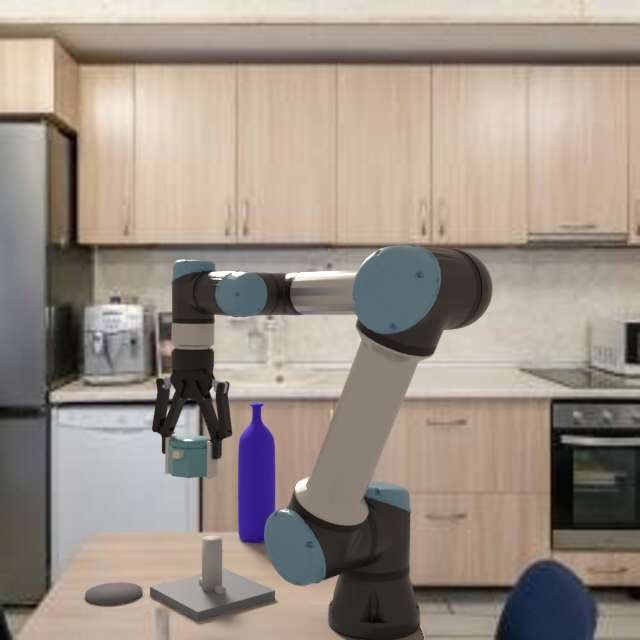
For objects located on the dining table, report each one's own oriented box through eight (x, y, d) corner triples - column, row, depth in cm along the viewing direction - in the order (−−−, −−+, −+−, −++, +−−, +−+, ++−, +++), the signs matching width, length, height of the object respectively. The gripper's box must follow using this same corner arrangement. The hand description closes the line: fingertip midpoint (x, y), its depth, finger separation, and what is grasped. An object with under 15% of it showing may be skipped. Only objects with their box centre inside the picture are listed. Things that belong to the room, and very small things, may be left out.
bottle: (269, 544, 183) (270, 406, 182) (233, 541, 185) (233, 405, 184) (279, 533, 191) (279, 401, 190) (244, 531, 193) (244, 400, 192)
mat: (152, 596, 151) (152, 593, 151) (100, 609, 145) (100, 606, 145) (126, 581, 159) (126, 578, 159) (75, 593, 152) (75, 590, 152)
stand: (275, 598, 150) (275, 540, 150) (197, 621, 140) (197, 557, 139) (224, 576, 162) (224, 521, 162) (149, 594, 152) (149, 536, 151)
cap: (194, 481, 144) (195, 446, 144) (156, 476, 147) (156, 442, 147) (224, 468, 155) (225, 436, 154) (188, 464, 157) (188, 432, 157)
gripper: (254, 348, 150) (252, 476, 151) (154, 343, 157) (153, 465, 158) (235, 351, 143) (232, 485, 144) (131, 345, 150) (130, 473, 151)
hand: (191, 474), depth 151 cm, fingers closed on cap, 8 cm apart
